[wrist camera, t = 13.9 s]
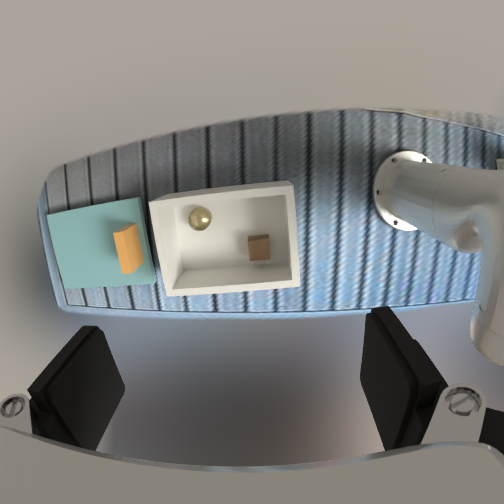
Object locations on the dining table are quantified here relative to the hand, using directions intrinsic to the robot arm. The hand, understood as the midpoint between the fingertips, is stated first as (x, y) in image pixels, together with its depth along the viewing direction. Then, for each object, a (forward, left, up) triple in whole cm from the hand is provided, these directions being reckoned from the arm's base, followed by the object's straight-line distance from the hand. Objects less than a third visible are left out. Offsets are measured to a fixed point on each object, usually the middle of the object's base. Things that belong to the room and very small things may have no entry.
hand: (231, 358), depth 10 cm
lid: (+26, +4, -37) cm, 45 cm away
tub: (+4, +4, -36) cm, 37 cm away
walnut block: (0, +7, -35) cm, 36 cm away
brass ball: (+8, +2, -35) cm, 36 cm away
